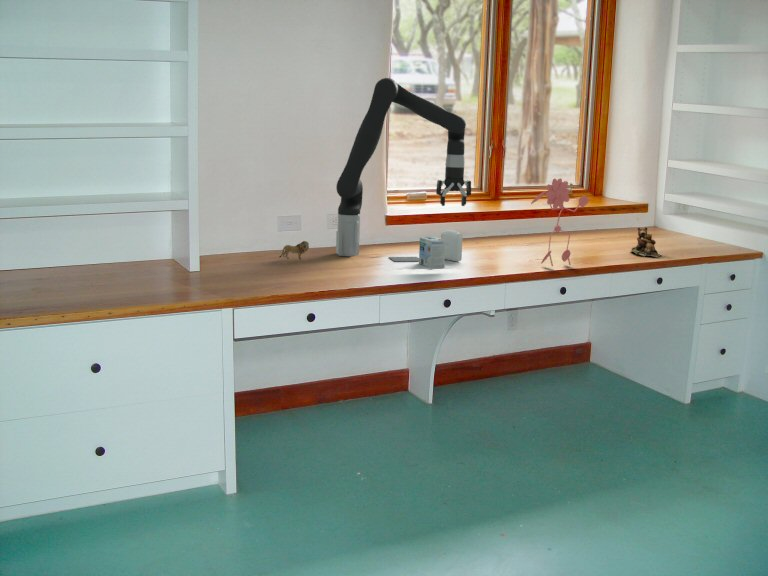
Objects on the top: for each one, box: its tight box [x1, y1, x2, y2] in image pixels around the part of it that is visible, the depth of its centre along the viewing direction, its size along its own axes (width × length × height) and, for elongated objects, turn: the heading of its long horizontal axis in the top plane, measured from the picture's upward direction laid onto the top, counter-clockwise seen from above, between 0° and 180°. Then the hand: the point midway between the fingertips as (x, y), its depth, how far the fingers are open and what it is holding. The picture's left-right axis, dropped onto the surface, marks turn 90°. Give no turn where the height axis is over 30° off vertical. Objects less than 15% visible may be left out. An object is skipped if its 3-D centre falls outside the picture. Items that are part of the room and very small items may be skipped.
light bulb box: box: [418, 236, 446, 269], centre depth 357 cm, size 11×7×11 cm, turn 23°
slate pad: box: [388, 256, 419, 263], centre depth 368 cm, size 12×10×1 cm
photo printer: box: [440, 229, 463, 262], centre depth 371 cm, size 10×4×12 cm, turn 39°
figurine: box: [528, 177, 589, 267], centre depth 369 cm, size 15×26×35 cm, turn 118°
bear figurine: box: [629, 226, 661, 258], centre depth 404 cm, size 14×15×12 cm
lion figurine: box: [278, 240, 310, 261], centre depth 361 cm, size 12×4×7 cm, turn 92°
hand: (453, 205), depth 368 cm, fingers open, 8 cm apart
